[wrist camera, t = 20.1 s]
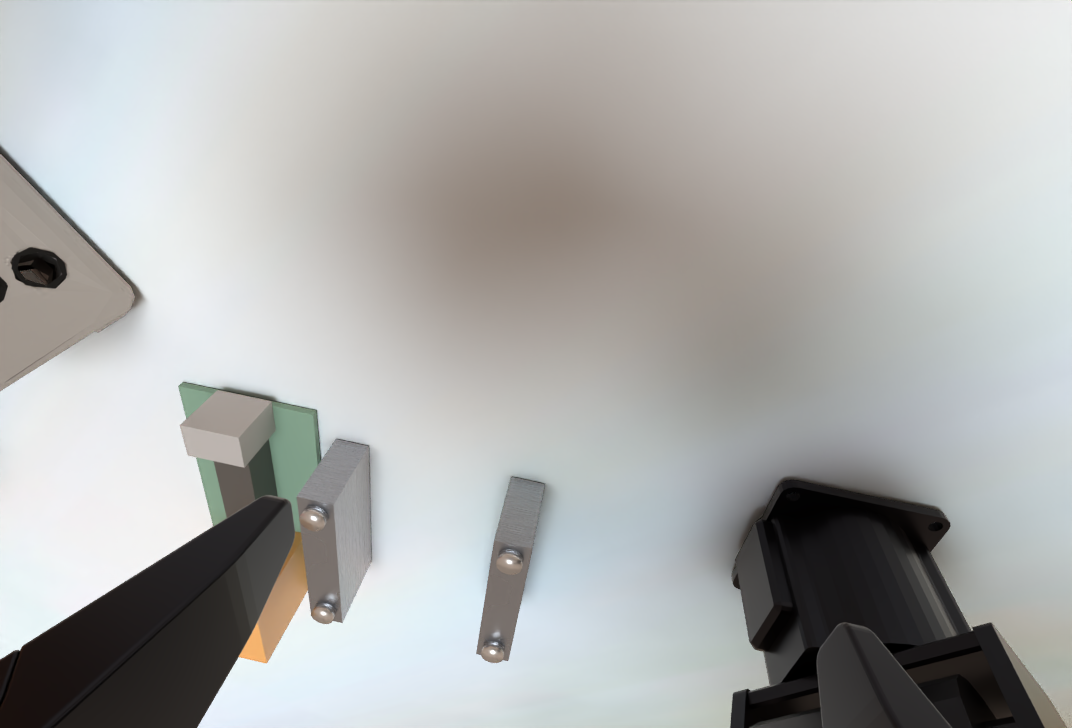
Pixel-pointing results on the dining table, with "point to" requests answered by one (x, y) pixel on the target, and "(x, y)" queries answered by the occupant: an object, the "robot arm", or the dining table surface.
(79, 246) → the electrical switch
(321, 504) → the pair of grey bars
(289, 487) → the pad
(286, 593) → the plug
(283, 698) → the dining table surface
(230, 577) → the robot arm
